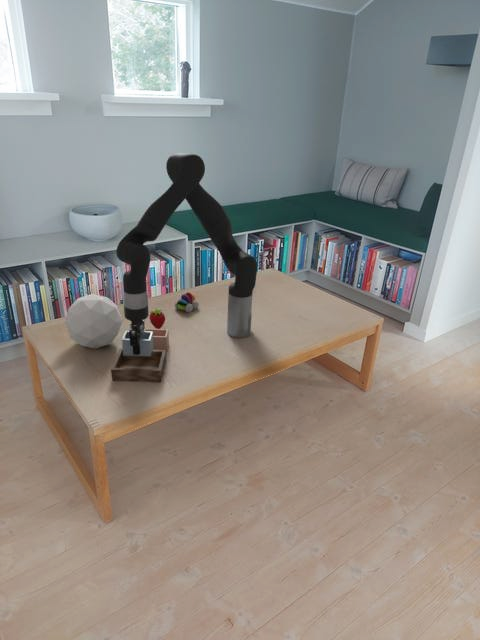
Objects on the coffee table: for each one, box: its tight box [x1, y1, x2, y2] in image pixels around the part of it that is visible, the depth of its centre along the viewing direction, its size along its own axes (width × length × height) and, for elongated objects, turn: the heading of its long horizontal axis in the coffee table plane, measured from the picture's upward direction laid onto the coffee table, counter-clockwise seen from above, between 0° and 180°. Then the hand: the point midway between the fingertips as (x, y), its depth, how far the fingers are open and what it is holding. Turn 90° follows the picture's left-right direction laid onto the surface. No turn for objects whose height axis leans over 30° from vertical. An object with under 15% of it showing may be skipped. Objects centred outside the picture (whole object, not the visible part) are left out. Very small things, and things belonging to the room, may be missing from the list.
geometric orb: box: [64, 293, 123, 349], centre depth 168 cm, size 19×20×20 cm
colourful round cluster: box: [174, 291, 200, 314], centre depth 201 cm, size 8×10×7 cm
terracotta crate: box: [144, 328, 170, 352], centre depth 171 cm, size 9×6×6 cm, turn 91°
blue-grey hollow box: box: [121, 330, 154, 356], centre depth 153 cm, size 9×6×6 cm, turn 91°
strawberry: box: [148, 308, 166, 329], centre depth 182 cm, size 6×8×10 cm
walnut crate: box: [110, 348, 167, 383], centre depth 157 cm, size 16×13×4 cm
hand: (138, 348), depth 154 cm, fingers closed on blue-grey hollow box, 6 cm apart
